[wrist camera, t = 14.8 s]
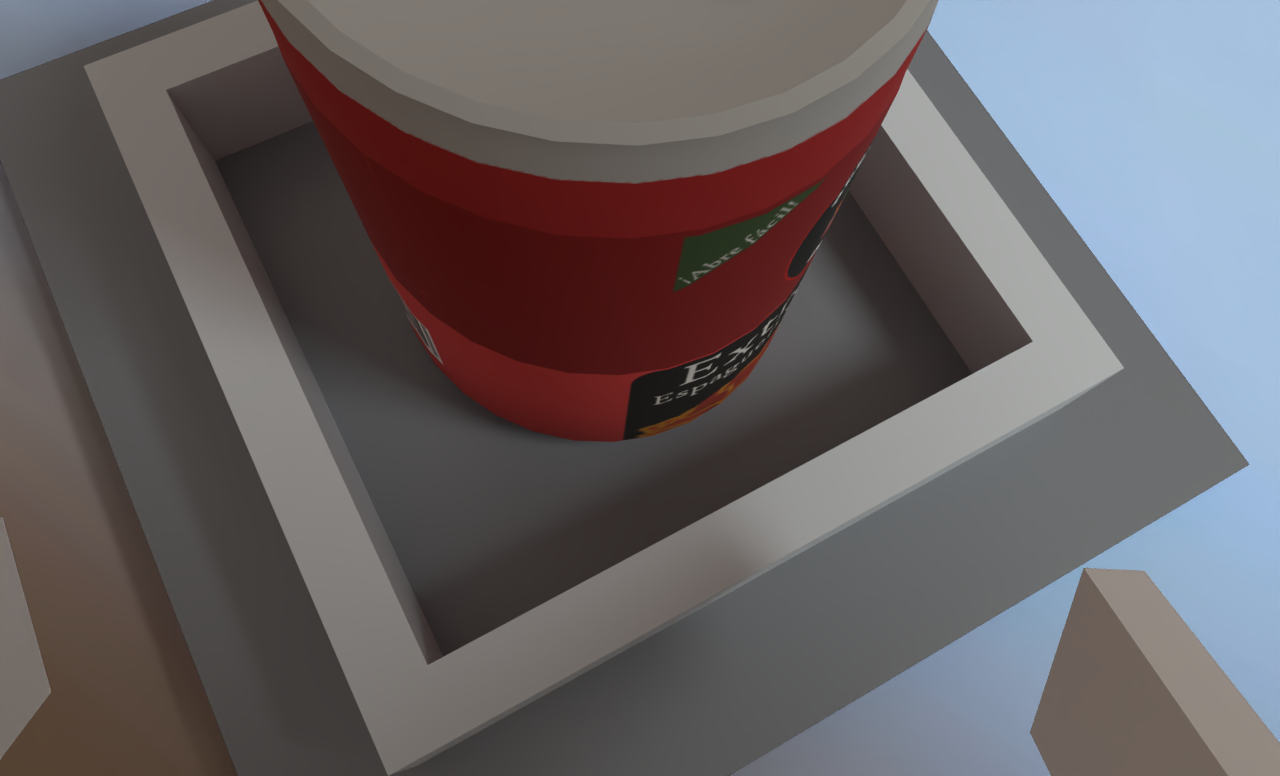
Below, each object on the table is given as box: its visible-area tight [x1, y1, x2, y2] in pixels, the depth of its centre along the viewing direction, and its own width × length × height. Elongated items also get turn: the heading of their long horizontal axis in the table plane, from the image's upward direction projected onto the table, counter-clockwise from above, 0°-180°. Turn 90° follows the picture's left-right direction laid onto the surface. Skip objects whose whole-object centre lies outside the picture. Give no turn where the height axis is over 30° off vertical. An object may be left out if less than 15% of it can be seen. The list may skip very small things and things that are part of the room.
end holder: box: [0, 0, 1249, 776], centre depth 20 cm, size 20×20×4 cm
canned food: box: [258, 0, 938, 442], centre depth 15 cm, size 8×8×11 cm
